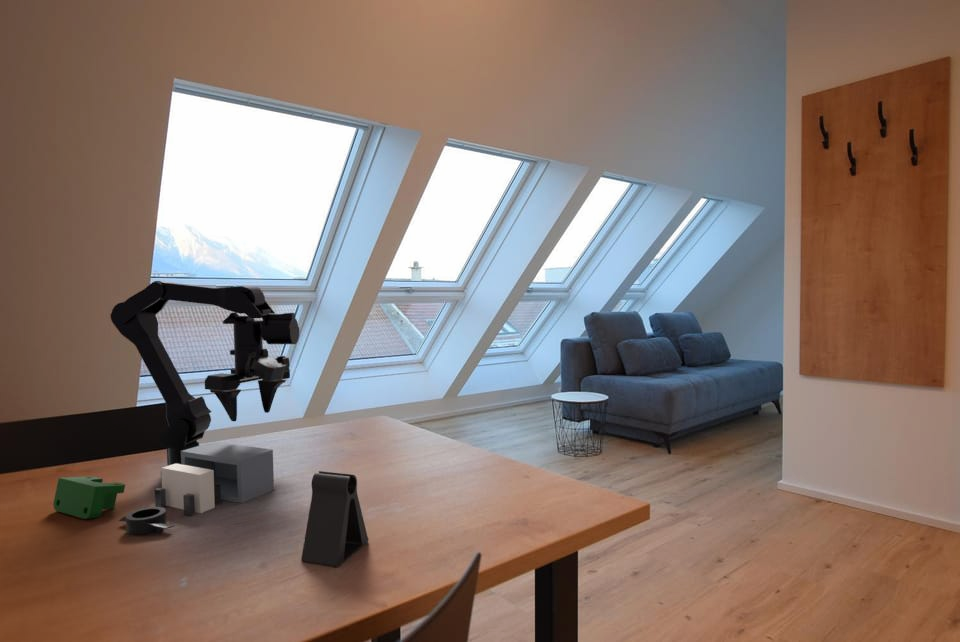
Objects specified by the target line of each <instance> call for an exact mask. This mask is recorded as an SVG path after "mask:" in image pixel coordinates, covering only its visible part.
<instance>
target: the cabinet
mask: <svg viewBox="0 0 960 642" xmlns="http://www.w3.org/2000/svg"><path fill="white" fill-rule="evenodd" d="M181 464H182V465H188V466H193V467H199V468H204V469H210V470H213V471H214V484H218V485H220V491H221V500H224V501H229V502H235V503H238V504H239V503H240V504H243V503H246V502H248V501H251V500H252V499H253V500H254V499H255V498H258V497H260V496H262V495H266V494H267V493H270V492H272V491H274V490H275V482H274V481H275V480H274V477H275V476H274V474H275V473H274V450H273V449H269V448H265V447H264V448H263V447H256V446H251V445H250V446H249V445H243V444H235V443H227V442H222V441H211V442H208V443H204V444H201V445H200V444H199V446H197V447H193V448H190V449H186V450H183V451H181Z"/></svg>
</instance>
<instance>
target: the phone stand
mask: <svg viewBox="0 0 960 642" xmlns="http://www.w3.org/2000/svg"><path fill="white" fill-rule="evenodd" d="M360 504H361V503H360V499H359V496H358V480H357V477H356V475H355V474H349V473H340V472H339V473H338V472H330V471H323V470H319V471H318V472H315V473H314V474H313V475H312V479H311V499H310V505H309V510H308V518H307V523H306V530H305V534H304V540H303V548H302V553H301V560H300V561H301V562H302V563H308V564H315V565H321V566H328V567H333V568H339V567H340V566H341V565H343V564H344V563H345V562H347V561H348V560H349V559H350V558H351V557H353V555H355V554H356V553H357V552H359V551H360V550H361V549H362V548H363V547H364V546H366V545H368V543H369V537H368V533H367V528H366V524H365V521H364V516H363V512H362V511H363V510H362V508H361V505H360Z"/></svg>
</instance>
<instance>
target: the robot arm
mask: <svg viewBox="0 0 960 642" xmlns="http://www.w3.org/2000/svg"><path fill="white" fill-rule="evenodd" d="M169 301H173V302H174V301H176V302H183V303H194V304H195V303H196V304H203V305H204V304H205V305H212V306H215V307H219V308H221V309H223V310H226V311H230V313H229V315H227V317H226V318H225V319H224V320H222V324H224V325H233V349H229V355H230V356H231V355H232V356H234V368H230V373H222V372H221V373H215V374H210V375H207V376H206V378H205V379H204V390H209V392H210V393H214V395H215V396H216V398H217V399H218V401H219V402H220V403H221V406H222V407H223V408H224V410H225V412H226V414H227V416H228V417H229V420H230V422H237V420H238V419H237V418H238V396H239V394H240V393H241V392H242V389H238V388H239V387H240V385H241V384H243V383H248V382H252V381H257V384H258V388H259V394H260V398H261V404H262V408H263V412H264V413H265V414H266V413H270V411H271V407H272V405H273V402H274V398H275V395H276V393H277V390H278V389H279V387H281V385H283V383H286V382H287V379H290V378H291V373H290V372H291V369H290V358H289V356H287V355H278V356H277V357H270V356H269V351H268V348H264V347H263V346H264V345H263V343H264V342H266V344H268V345H297V343H298V341H299V338H300V326H299V324H298V321H297V319H296V313H295V312H284V313H276V312H275V311H274V310H273V309H272V307H271V306H270V305H269V303H268V302H267V301H266V297H265V294H264V291H262V290H261V288H259V287H258V286H254V285H252V286H251V285H250V286H248V285H245V286H244V285H243V286H239V285H238V286H225V287H214V286H204V285H196V284H186V283H180V282H179V283H178V282H171V281H169V280H155V281H153V282H151V283H150V284H148V285H147V286H146V287H145V288H144V289H142V290H140V291H138V292H137V293H135V294H133V295H132V296H130V297H128V298H127V299H126V300H125V301H124V302H123V301H122V302H118V303H117V304H115V305H114V307H113V308H112V310H111V313H110V314H109V315H110V316H109V317H110V322H111V323H112V324H113V326H114V327H115V328H116V330H117V331H118V332H119V333H120V335H121V336H122V337H124V338H125V339H126V340H128V341H129V342H130V343H132V344H133V345H134V346H135V348H136V349H137V352H138V353H139V355H140V357H141V359H142V361H143V363H144V365H145V367H146V368H147V370H148V372H149V374H150V376H151V378H152V380H153V382H154V383H155V385H156V387H157V389H158V391H159V393H160V395H161V397H162V399H163V400H164V402H165V407H166V408H165V409H166V410H165V413H166V415H165V418H166V421H167V424H168V428H167V429H166V430H165V432H164V433H163V434H162V435H160V437H159V438H158V442H159V445H160V447H161V449H166V458H167V459H166V463H167V465H166V466H169V465H172V464H181V451H183V450H186V449H190V448H193V447H197V446H200V442H199V440H201V439H203V438H204V435H205V433H206V431H207V430H208V429H209V427H210V426H211V422H212V416H211V414H210V413H212V410H210V409H209V407H208V406H207V404H206V401H205V399H204V396H202V395H201V396H199V397H194V396H193V395H191V394H190V392H189V391H188V389H187V387H186V386H185V385H186V384H184V382H183V379H182V377H181V376H180V375H179V374H180V373H179V372H178V371H177V369H176V367H175V365H174V363H173V360H172V359H171V357H170V356H169V354H168V351H167V350H166V348H165V346H164V344H163V342H162V340H161V339H160V337H159V321H158V319H157V316H156V315H158V314H159V313H160V312H161V311H162V310H163V309H164V308H165V306H166V305H167V304H168V302H169ZM239 314H244V315H239ZM255 319H262V320H255ZM160 473H161V474H162V472H161V471H160Z"/></svg>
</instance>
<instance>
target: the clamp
mask: <svg viewBox="0 0 960 642" xmlns="http://www.w3.org/2000/svg"><path fill="white" fill-rule="evenodd" d="M103 479H104V478H101V477H98V476H96V477H95V476H72V477H58V479H57V485H56V489H55V494H54V500H53V509H54V510H55V511H56V512H59V513H62V514H67V515H69V516H73V517H76V518H79V519H83V520H85V519H86V520H88V519H96V518H99V517H101V515H102V513H103V510H114V509H115V506H116V501H117V496H118V494H123V493H125V489H126V483H121V482H118V481H117V482H103Z"/></svg>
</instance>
